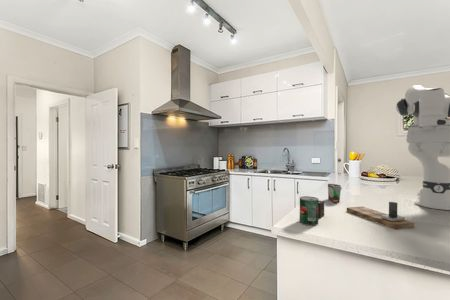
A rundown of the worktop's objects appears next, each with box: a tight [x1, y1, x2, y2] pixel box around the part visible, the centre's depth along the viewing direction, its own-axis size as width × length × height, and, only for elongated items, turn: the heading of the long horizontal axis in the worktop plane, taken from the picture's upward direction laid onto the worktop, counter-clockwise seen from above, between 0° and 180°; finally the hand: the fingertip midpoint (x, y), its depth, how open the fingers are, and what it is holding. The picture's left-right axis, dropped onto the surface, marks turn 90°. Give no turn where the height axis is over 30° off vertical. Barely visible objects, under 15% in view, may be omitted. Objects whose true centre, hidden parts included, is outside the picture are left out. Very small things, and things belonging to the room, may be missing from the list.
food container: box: [327, 183, 343, 204], centre depth 137 cm, size 12×6×10 cm, turn 171°
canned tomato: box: [299, 195, 320, 227], centre depth 99 cm, size 8×8×11 cm
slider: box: [381, 201, 406, 221], centre depth 96 cm, size 5×7×7 cm
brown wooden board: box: [346, 205, 415, 230], centre depth 104 cm, size 26×10×2 cm, turn 13°
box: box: [318, 199, 325, 219], centre depth 108 cm, size 6×6×7 cm
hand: (431, 152), depth 102 cm, fingers open, 8 cm apart
